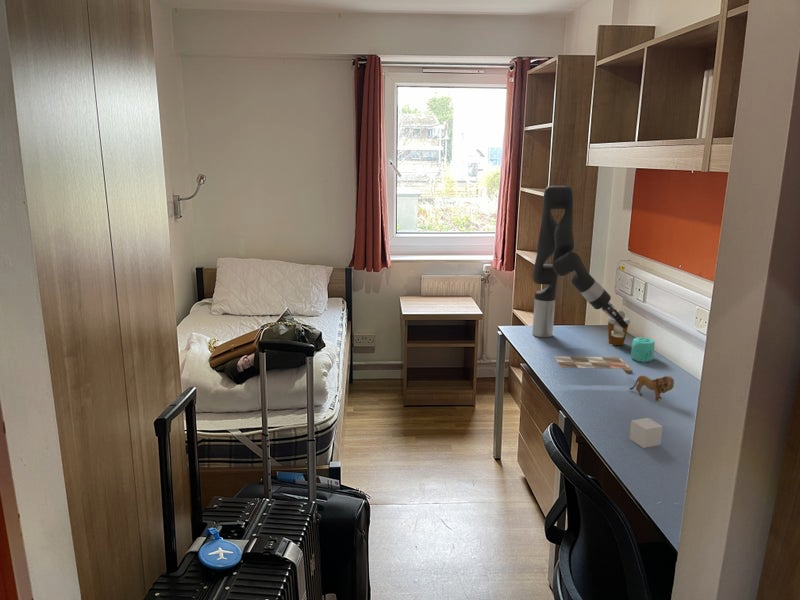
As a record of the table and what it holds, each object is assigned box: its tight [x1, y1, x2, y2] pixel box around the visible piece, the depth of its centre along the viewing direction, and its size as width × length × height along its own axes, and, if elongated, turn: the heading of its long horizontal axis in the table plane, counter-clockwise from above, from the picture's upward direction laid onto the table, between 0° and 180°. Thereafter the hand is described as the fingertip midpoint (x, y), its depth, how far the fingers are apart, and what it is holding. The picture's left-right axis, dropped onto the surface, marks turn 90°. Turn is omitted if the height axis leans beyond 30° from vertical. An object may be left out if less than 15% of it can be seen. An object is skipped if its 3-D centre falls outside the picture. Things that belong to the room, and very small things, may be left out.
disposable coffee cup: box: [606, 316, 631, 347], centre depth 259 cm, size 10×10×12 cm
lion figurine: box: [629, 375, 675, 402], centre depth 204 cm, size 15×5×9 cm, turn 47°
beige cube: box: [629, 417, 663, 449], centre depth 172 cm, size 6×6×6 cm
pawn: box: [611, 309, 626, 337], centre depth 226 cm, size 5×5×10 cm
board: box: [553, 355, 633, 374], centre depth 233 cm, size 15×28×1 cm, turn 89°
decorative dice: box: [630, 337, 655, 363], centre depth 241 cm, size 8×8×8 cm
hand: (623, 325), depth 226 cm, fingers closed on pawn, 3 cm apart
